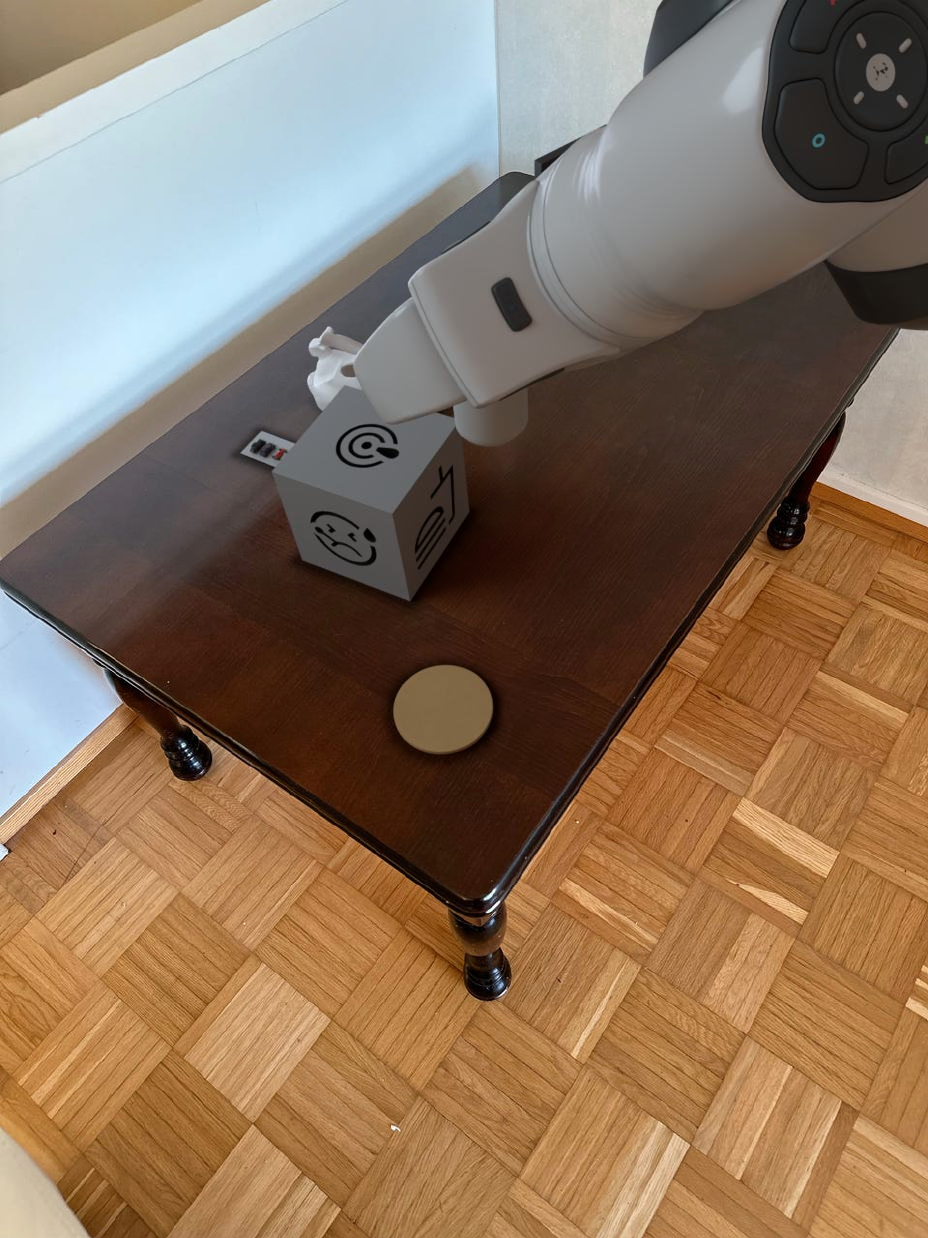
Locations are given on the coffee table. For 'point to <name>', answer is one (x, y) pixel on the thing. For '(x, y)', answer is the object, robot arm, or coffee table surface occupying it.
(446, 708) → the coaster
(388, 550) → the icon cube
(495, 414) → the beverage can
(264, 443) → the toy car tray
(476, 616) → the coffee table surface
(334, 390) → the rabbit figurine
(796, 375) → the coffee table surface
